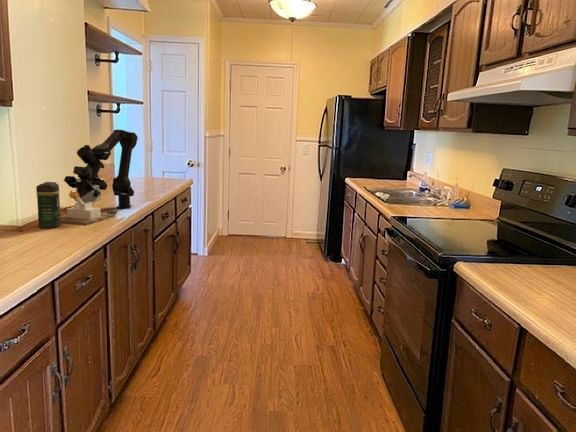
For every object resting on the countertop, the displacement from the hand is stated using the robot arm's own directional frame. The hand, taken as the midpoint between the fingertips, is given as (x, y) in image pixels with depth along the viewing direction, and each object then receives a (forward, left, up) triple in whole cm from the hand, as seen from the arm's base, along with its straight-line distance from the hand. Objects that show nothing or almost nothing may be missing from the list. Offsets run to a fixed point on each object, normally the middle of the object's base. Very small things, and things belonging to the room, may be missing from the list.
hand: (78, 198), depth 199 cm
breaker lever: (-3, +1, -4) cm, 5 cm away
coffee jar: (+12, -8, -10) cm, 18 cm away
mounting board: (-3, +1, -10) cm, 11 cm away
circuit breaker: (-31, -6, -10) cm, 33 cm away
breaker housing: (-3, +1, -10) cm, 11 cm away
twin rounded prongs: (-16, +6, -10) cm, 20 cm away
